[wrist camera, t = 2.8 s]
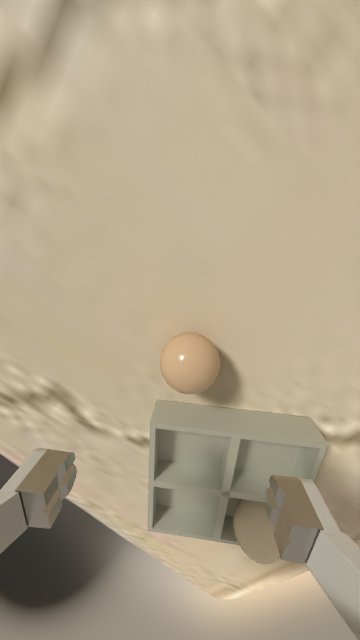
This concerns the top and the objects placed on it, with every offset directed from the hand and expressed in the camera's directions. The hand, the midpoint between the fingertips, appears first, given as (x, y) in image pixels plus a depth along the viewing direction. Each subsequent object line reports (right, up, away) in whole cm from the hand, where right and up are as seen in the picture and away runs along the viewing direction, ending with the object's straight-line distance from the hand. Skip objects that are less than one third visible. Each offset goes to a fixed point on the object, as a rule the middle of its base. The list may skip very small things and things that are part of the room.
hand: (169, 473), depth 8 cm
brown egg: (+1, +4, +10) cm, 11 cm away
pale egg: (+8, -14, +14) cm, 21 cm away
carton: (+5, -10, +14) cm, 18 cm away
